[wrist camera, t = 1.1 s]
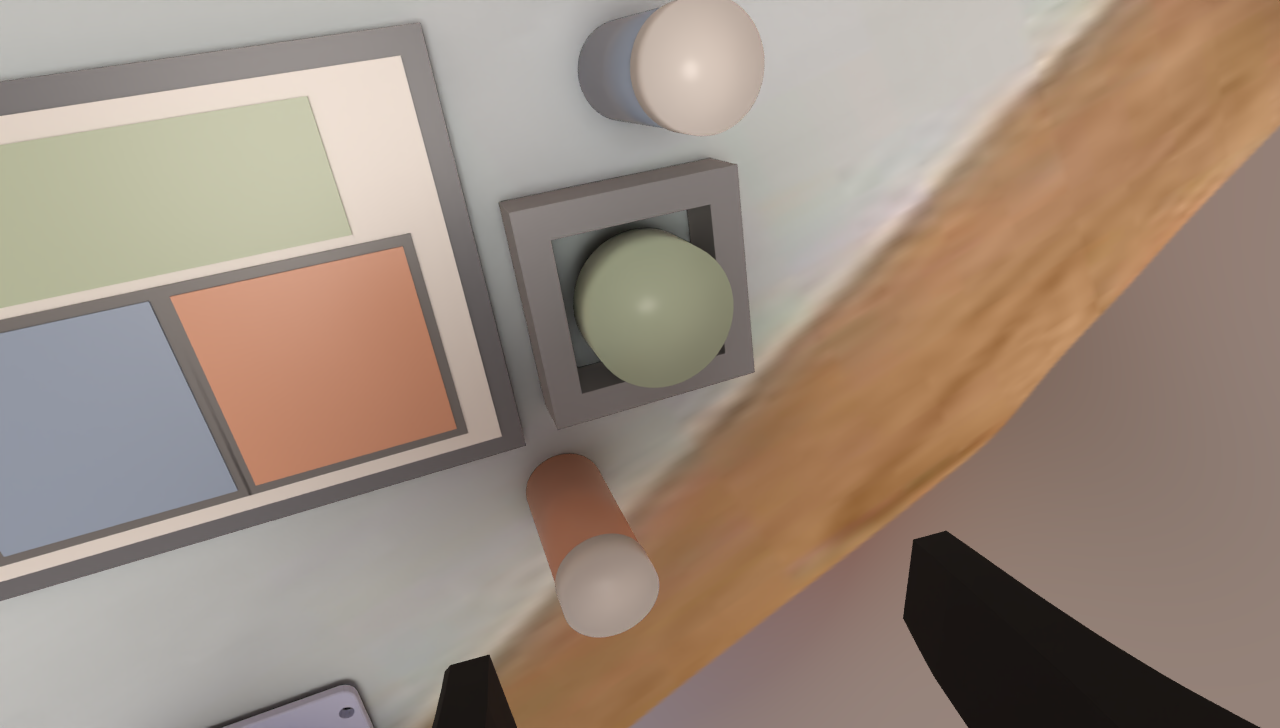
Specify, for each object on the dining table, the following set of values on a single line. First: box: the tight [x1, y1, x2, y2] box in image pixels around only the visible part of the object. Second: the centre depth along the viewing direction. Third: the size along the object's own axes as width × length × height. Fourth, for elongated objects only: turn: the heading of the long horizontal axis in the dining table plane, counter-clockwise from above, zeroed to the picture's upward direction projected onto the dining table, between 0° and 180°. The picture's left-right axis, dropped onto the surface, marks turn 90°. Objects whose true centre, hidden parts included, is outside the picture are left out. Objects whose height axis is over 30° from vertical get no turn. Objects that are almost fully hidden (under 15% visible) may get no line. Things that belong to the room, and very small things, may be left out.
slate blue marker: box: [578, 0, 764, 136], centre depth 18 cm, size 3×3×6 cm
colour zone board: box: [0, 22, 526, 601], centre depth 19 cm, size 13×16×1 cm
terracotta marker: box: [526, 454, 659, 637], centre depth 23 cm, size 3×3×6 cm
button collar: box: [499, 158, 755, 430], centre depth 22 cm, size 7×7×2 cm
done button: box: [573, 228, 734, 388], centre depth 21 cm, size 4×4×2 cm
